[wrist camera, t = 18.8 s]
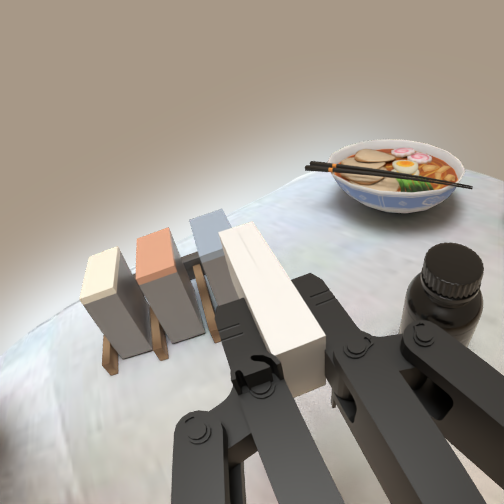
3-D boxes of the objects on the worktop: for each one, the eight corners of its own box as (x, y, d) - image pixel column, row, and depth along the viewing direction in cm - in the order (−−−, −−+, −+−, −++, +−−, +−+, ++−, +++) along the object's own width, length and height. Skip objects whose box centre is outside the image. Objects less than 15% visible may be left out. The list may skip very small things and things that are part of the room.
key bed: (279, 319, 35) (275, 300, 33) (110, 375, 32) (97, 360, 31) (245, 253, 46) (240, 236, 45) (113, 299, 44) (104, 284, 42)
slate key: (259, 313, 36) (239, 242, 30) (225, 325, 36) (199, 256, 30) (241, 273, 43) (222, 208, 37) (212, 283, 42) (189, 219, 36)
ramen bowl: (467, 185, 50) (470, 144, 45) (463, 256, 36) (473, 201, 31) (350, 167, 63) (346, 130, 59) (301, 223, 50) (294, 175, 45)
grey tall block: (152, 349, 34) (112, 287, 29) (122, 358, 34) (79, 299, 28) (149, 305, 41) (117, 245, 35) (122, 314, 41) (89, 257, 35)
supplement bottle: (380, 352, 28) (391, 255, 22) (428, 320, 30) (448, 223, 23) (422, 401, 23) (460, 310, 16) (470, 360, 24) (511, 265, 17)
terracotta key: (205, 332, 35) (174, 265, 30) (172, 343, 35) (135, 279, 29) (194, 289, 42) (168, 227, 36) (166, 299, 41) (136, 238, 36)
